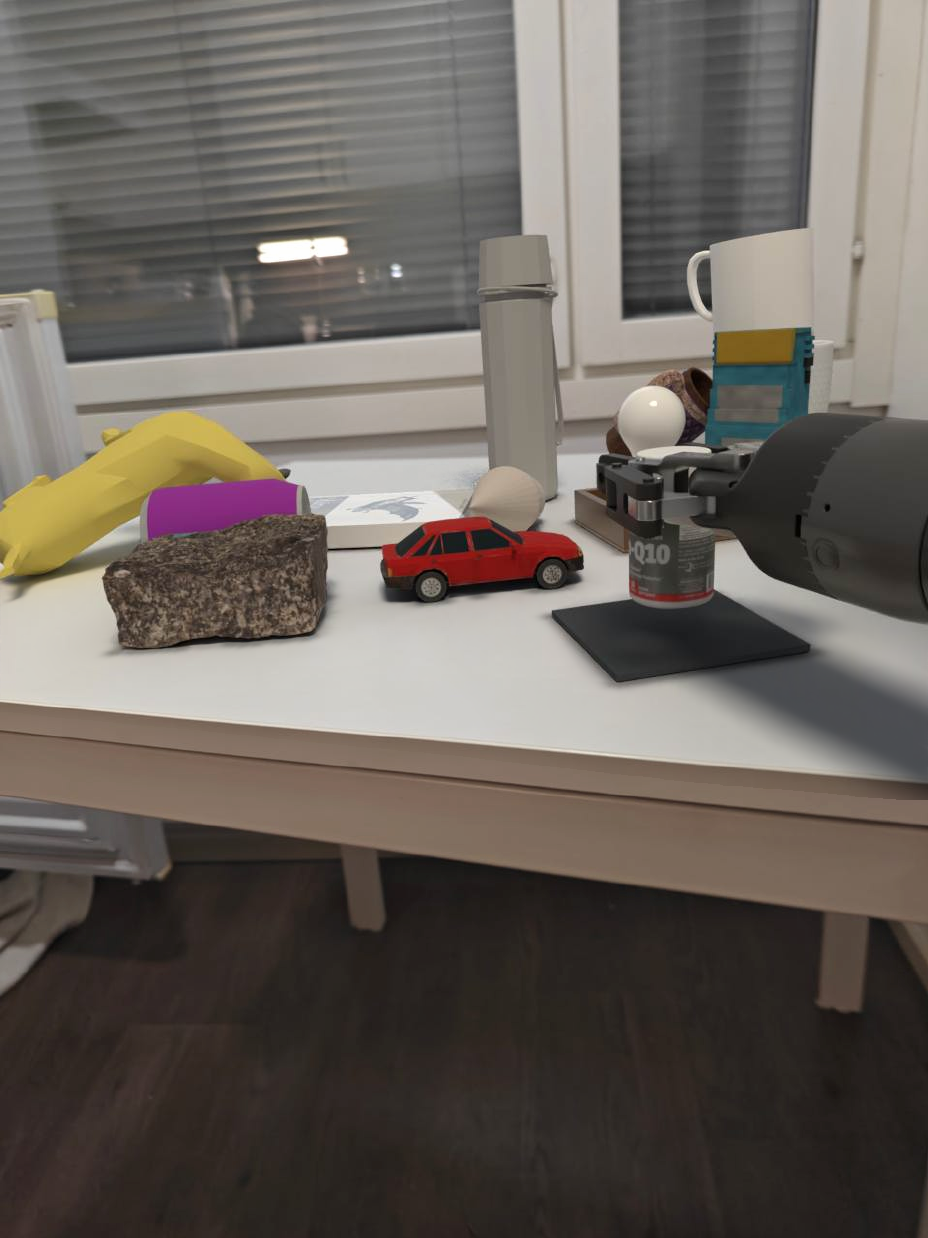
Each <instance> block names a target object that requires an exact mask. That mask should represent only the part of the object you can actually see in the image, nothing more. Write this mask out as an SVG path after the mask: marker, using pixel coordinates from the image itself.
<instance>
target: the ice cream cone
mask: <svg viewBox="0 0 928 1238" xmlns="http://www.w3.org/2000/svg"><path fill="white" fill-rule="evenodd" d="M473 489H474V492H473V495H472V499H471V504H470V509H471V511H472V513H473V514H474V516H475V517H487V518H488V519H491V520H493V521H494V522H496V523H498V524H500V525H502V526H503V527H505V528H507V529H509V530H510V531H512V532H515V531H528V529H529V528H530V527H532V526H533V525H534V523H535V522H536V521H537V520H538V518H539V517H540V516H541V515H542V513H543V512H544V510H545V506H546V501H545V493H544V490H543V488H542V486H541V484H540V483H539V482H538V481H537V480H536V479H534V478H533V477H531V476H530V475H528V474H527V473H525V472H523V471H521V470H519V469H517V468H514V467H509V466H501V467H497V468H494V469H492V470H489V469H488V471H486V472H484V474H483V475H482V476H480V478H479V479H478V481H477V482H476V484H475V486H474V488H473Z"/></svg>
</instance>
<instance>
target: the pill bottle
mask: <svg viewBox="0 0 928 1238" xmlns="http://www.w3.org/2000/svg"><path fill="white" fill-rule="evenodd" d="M679 452H698V453H711V450H710V449H708V448H705V447H698V446H671V447H659V448H652V449H647V450H643V451H640V452H638V453H637V454H636V458H637V457H645V459H653V460H662V459H663V458H664V457H665V456H667V455H671V454H675V453H679ZM695 469H696V468H695V467H690V468H689V477H690V475H691V473H692V472H693V471H694V470H695ZM654 476H660V475H659V474H656V473H653V477H654ZM688 492H689V485H688ZM715 557H716V541H715V534H713V533H712V532H711V531H710V530H709V529H705V528H698V527H690V526H683V525H676V524H669V523H666V522H665V521H664V527H663V528H662V535H660V536H657V537H654V538H652V539H645V538H643V537H638V536H636V535H634V534H633V533H631V532H630V531H629V552H628V594H629V597H630V599H633V600H634V601H635V602H637V603H639V604H641V605H644V606H647V607H652V608H660V609H679V608H688V607H694V606H698V605H702V604H704V603H706V602H708V601H709V600H710V599H711V598H712V596H713V593H714V589H715V561H716V560H715V559H716V558H715Z"/></svg>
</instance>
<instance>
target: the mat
mask: <svg viewBox="0 0 928 1238" xmlns="http://www.w3.org/2000/svg"><path fill="white" fill-rule="evenodd" d="M551 617H552V618H553V619H554V620H555V621H556V622H557V623H558V624H559V625H560V626H561V627H562V628H563V630H565V631H566V632H567V633H568V634H569V635H570V636H571V637H572V638H573V639H574V640H575V641H576V642H577V643H578V644H579V645H580V646H581V647H582V648H583V649H584V650H585V651H586V652H587V653H588V654H589V655H590V656H591V657H592V658H593V659H594V660H595V661H596V662H597V663H598V664H599V665H600V666H601V667H602V668H603V669H604V670H605V671H606V672H607V673H608V675H610V676H611V677H612V678H613V679H614V680H615V681H616V682H618V683H619V682H626V681H632V680H638V679H643V678H651V677H656V676H663V675H670V674H676V673H682V672H687V671H695V670H700V669H701V670H702V669H707V668H713V667H719V666H725V665H732V664H738V663H745V662H750V661H756V660H757V661H758V660H763V659H770V658H775V657H776V658H777V657H783V656H788V655H794V654H795V655H796V654H801V653H807V652H811V646H812V645H811V644H810V643H809V642H807V641H805V640H803V639H802V638H799V637H798V636H796V635H795V634H793V633H792V632H789V631H788V630H786V629H785V628H783V627H781V626H779V625H777V624H775V623H774V622H772V621H770V620H768V619H767V618H765V617H763V616H761V615H760V614H759V613H756V612H755V611H753V610H751V609H749V608H748V607H746V606H745V605H742V604H741V603H739V602H738V601H736V600H734V599H732V598H730V597H728V596H727V595H725V594H724V593H722V592H720V591H718V590H716V589H715V588H714V593H713V596H712V598H711V599H710V600H709V601H708V602H706V603H704V604H702V605H698V606H694V607H688V608H679V609H660V608H652V607H647V606H644V605H641V604H639V603H637V602H635V601H634V600H633V599H632V598H629V599H622V600H614V601H608V602H600V603H594V604H586V605H581V606H573V607H572V606H571V607H565V608H557V609H552V610H551Z"/></svg>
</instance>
